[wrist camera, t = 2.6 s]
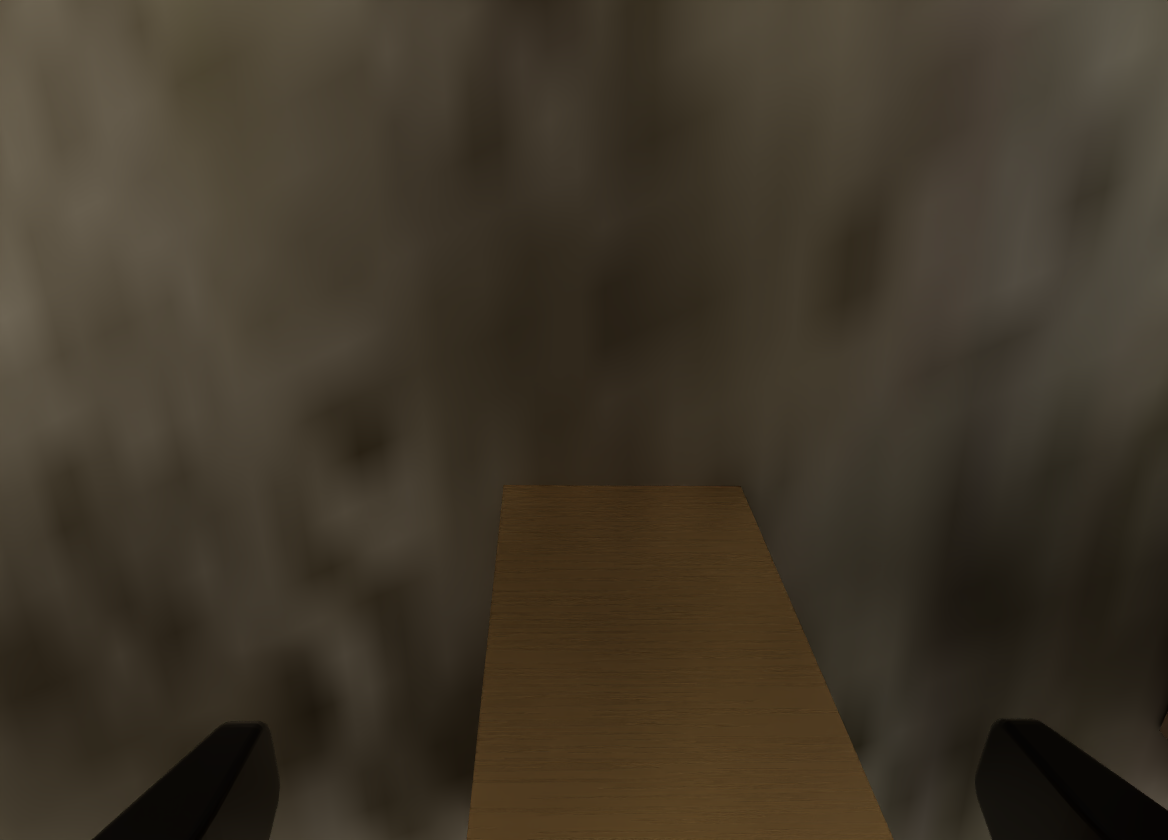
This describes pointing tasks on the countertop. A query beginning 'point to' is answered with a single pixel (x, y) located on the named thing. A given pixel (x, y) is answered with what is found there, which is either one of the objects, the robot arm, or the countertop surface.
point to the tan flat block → (653, 679)
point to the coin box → (1165, 727)
